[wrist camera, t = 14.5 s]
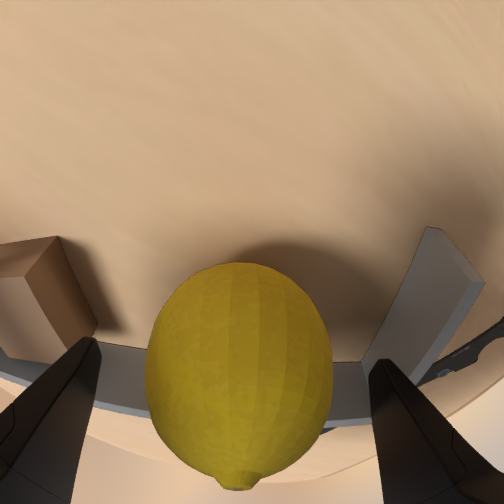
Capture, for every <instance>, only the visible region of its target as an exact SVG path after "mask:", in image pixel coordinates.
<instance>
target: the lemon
mask: <svg viewBox="0 0 504 504" xmlns="http://www.w3.org/2000/svg"><path fill="white" fill-rule="evenodd" d="M144 378H145V393H146V400H147V405H148V408H149V412H150V416H151V419H152V423H153V425H154V427H155V429H156V431H157V433H158V435H159V436H160V438H161V439H162V440H163V442H164V443H165V445H166V446H167V447H168V448H169V449H170V450H171V451H172V452H173V453H174V454H175V455H176V456H177V457H178V458H179V459H180V460H182V461H183V462H184V463H186V464H187V465H188V466H190V467H192V468H193V469H195V470H197V471H199V472H201V473H203V474H205V475H208V476H211V477H214V478H215V479H216V480H217V482H218V483H219V484H220V485H221V486H222V487H223V488H224V489H227V490H233V491H243V490H250V489H251V488H252V487H253V486H254V485H255V484H256V483H257V482H258V481H259V480H260V479H262V478H265V477H268V476H270V475H273V474H275V473H277V472H280V471H282V470H284V469H286V468H287V467H289V466H290V465H292V464H293V463H295V462H296V461H297V460H298V459H300V458H301V457H302V456H303V455H304V454H305V453H306V452H307V451H308V450H309V449H310V448H311V447H312V445H313V444H314V443H315V442H316V440H317V439H318V437H319V435H320V433H321V431H322V429H323V427H324V425H325V423H326V421H327V417H328V414H329V411H330V407H331V401H332V394H333V362H332V351H331V345H330V340H329V336H328V332H327V330H326V327H325V325H324V322H323V320H322V318H321V316H320V315H319V313H318V311H317V309H316V307H315V305H314V304H313V302H312V300H311V299H310V297H309V296H308V295H307V294H306V293H305V292H304V291H303V290H302V289H301V288H300V287H299V286H298V285H297V284H296V283H295V282H294V281H292V280H291V279H290V278H288V277H287V276H285V275H283V274H281V273H279V272H278V271H276V270H274V269H272V268H269V267H266V266H262V265H258V264H255V263H241V262H233V263H226V264H220V265H215V266H213V267H210V268H208V269H205V270H202V271H200V272H198V273H196V274H195V275H194V276H192V277H191V278H189V279H188V280H187V281H185V282H184V283H183V284H181V285H180V286H179V287H178V288H177V289H176V291H175V292H174V293H173V294H172V296H171V297H170V298H169V300H168V301H167V302H166V304H165V305H164V306H163V308H162V310H161V311H160V313H159V315H158V317H157V319H156V321H155V324H154V327H153V330H152V333H151V337H150V340H149V344H148V349H147V353H146V360H145V377H144Z"/></svg>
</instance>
